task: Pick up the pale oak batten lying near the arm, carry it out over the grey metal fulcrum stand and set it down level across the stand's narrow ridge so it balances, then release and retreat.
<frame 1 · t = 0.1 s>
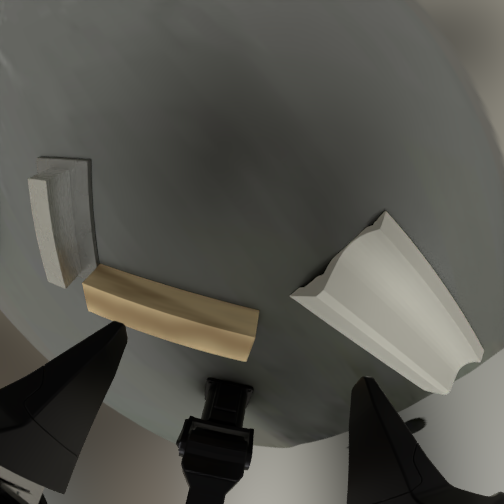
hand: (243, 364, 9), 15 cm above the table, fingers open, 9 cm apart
oak batten: (173, 299, 28), on the table
fulcrum stand: (67, 220, 24), on the table
crown molding: (414, 328, 27), on the table
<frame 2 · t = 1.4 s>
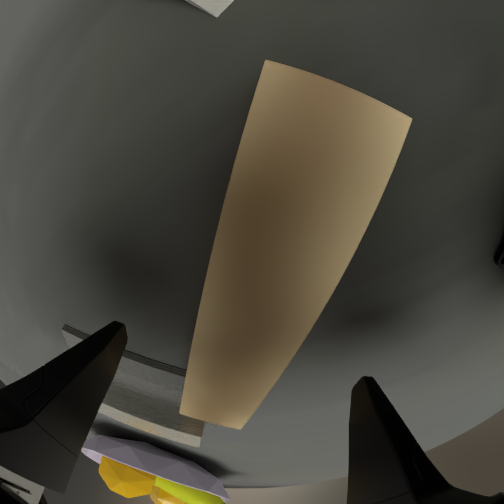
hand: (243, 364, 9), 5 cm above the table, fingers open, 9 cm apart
oak batten: (256, 279, 13), on the table
fulcrum stand: (142, 381, 20), on the table
fruit bowl: (164, 456, 35), on the table
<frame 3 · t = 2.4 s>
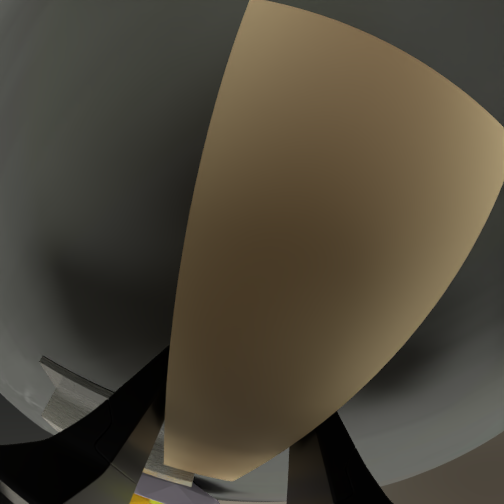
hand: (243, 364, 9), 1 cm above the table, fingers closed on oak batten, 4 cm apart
oak batten: (248, 336, 10), on the table, touching gripper
fulcrum stand: (128, 416, 16), on the table
fruit bowl: (160, 473, 31), on the table
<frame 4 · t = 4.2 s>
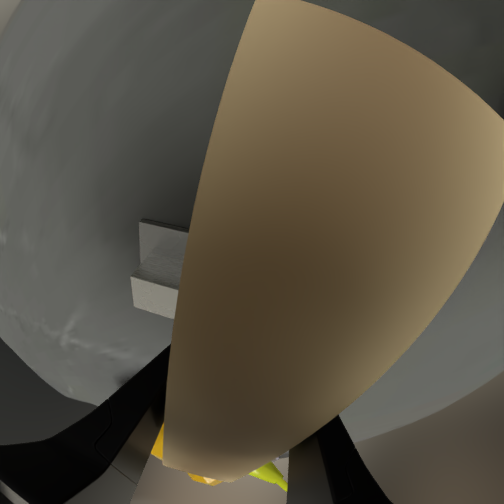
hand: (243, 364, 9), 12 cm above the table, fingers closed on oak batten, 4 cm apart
oak batten: (249, 337, 10), point 10 cm above the table, touching gripper
fulcrum stand: (221, 280, 22), on the table
fruit bowl: (204, 416, 37), on the table
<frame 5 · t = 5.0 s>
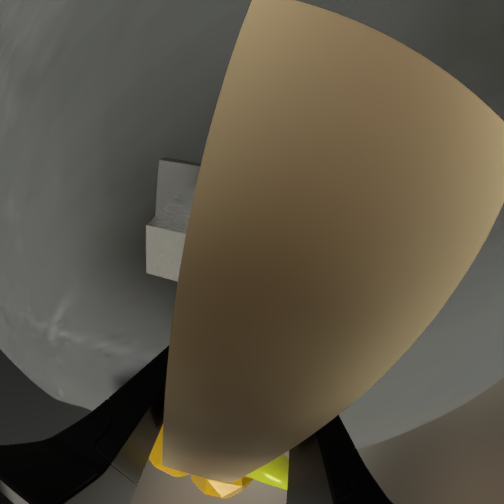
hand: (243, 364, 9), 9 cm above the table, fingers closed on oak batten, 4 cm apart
oak batten: (248, 338, 10), point 8 cm above the table, touching gripper
fulcrum stand: (263, 240, 17), on the table
fruit bowl: (215, 421, 32), on the table
when the fingers open (6 cm above the table, at t = 5.8 s): oak batten stays where it is, resting on fulcrum stand.
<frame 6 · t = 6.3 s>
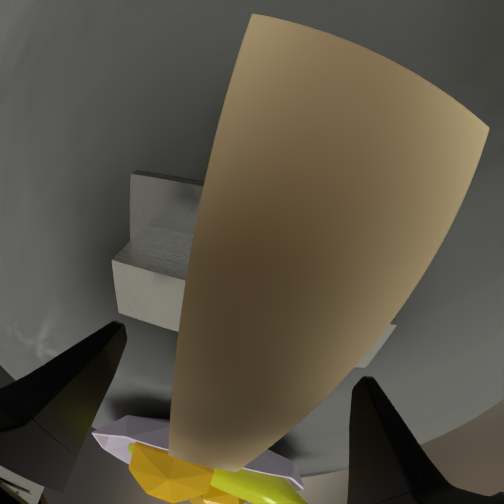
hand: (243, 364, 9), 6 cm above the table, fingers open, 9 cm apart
oak batten: (251, 323, 11), point 4 cm above the table, touching fulcrum stand
fulcrum stand: (259, 270, 14), on the table
fruit bowl: (211, 442, 29), on the table
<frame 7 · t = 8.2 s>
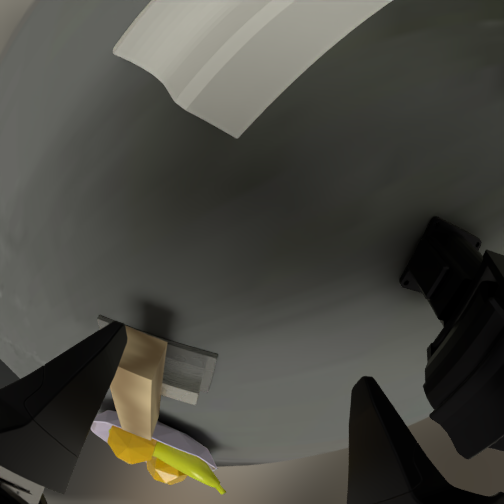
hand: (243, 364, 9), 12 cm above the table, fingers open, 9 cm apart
oak batten: (144, 382, 25), point 4 cm above the table, touching fulcrum stand
fulcrum stand: (155, 356, 29), on the table
fruit bowl: (161, 430, 43), on the table
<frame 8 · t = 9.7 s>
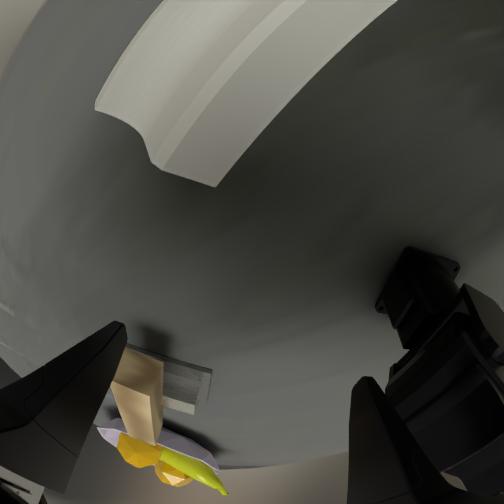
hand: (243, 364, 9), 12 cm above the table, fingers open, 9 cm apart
oak batten: (147, 395, 27), point 4 cm above the table, touching fulcrum stand
fulcrum stand: (157, 370, 31), on the table
fruit bowl: (168, 436, 46), on the table
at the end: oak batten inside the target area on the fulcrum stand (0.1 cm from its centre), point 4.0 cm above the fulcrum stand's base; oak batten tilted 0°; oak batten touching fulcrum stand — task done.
